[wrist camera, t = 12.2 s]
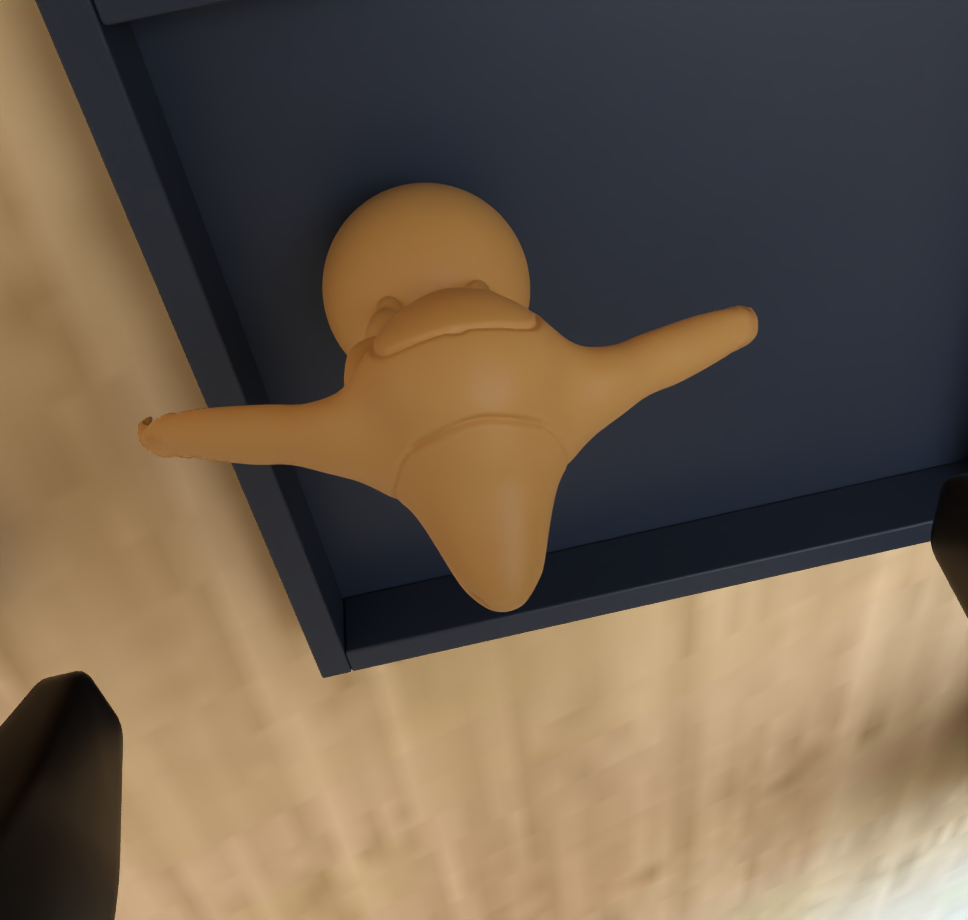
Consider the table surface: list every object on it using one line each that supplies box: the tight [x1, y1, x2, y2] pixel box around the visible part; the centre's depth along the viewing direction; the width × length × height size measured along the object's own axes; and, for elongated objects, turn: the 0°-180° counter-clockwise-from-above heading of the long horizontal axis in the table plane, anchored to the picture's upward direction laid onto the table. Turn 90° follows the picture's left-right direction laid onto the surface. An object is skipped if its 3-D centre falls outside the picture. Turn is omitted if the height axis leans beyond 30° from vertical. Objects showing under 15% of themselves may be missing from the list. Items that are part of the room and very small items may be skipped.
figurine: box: [138, 182, 758, 612], centre depth 13 cm, size 8×6×12 cm
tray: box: [35, 0, 968, 678], centre depth 19 cm, size 20×17×2 cm
